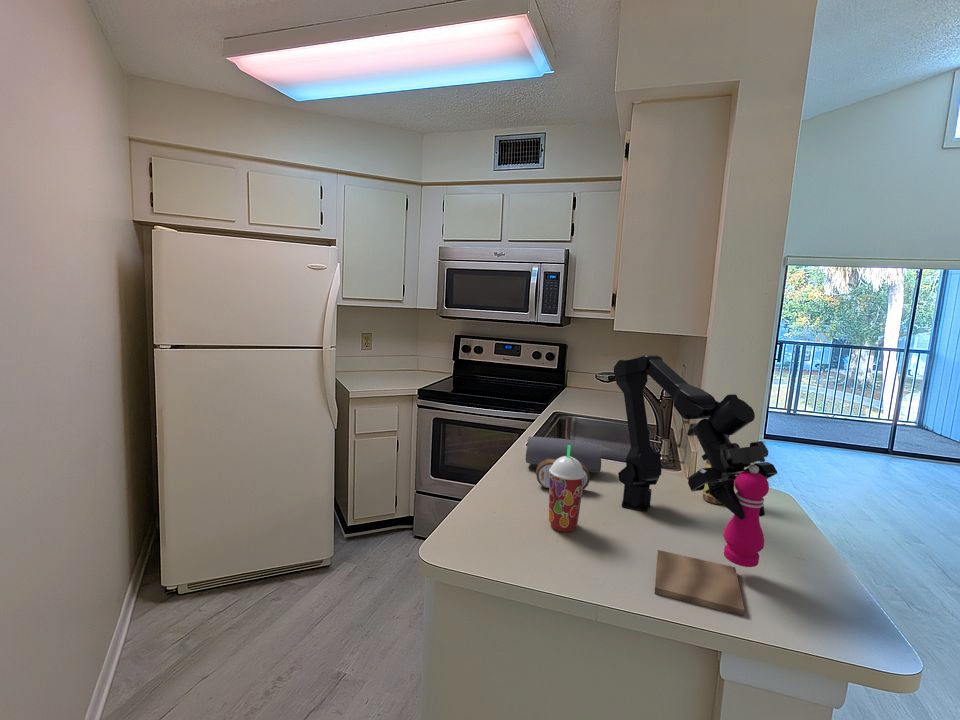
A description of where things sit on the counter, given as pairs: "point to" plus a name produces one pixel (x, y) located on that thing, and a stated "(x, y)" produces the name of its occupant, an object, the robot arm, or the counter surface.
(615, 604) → the counter surface
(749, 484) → the pepper mill
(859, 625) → the counter surface
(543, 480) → the tin
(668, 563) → the walnut board
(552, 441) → the bluetooth speaker
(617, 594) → the counter surface
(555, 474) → the smoothie
